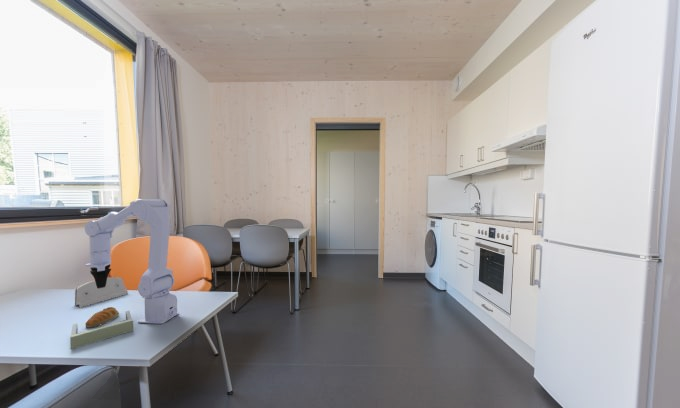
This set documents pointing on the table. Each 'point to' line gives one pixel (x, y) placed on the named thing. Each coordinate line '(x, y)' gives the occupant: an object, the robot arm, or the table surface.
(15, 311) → the table surface
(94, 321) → the pastry
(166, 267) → the robot arm
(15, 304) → the table surface
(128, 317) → the chute dock
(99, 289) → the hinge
